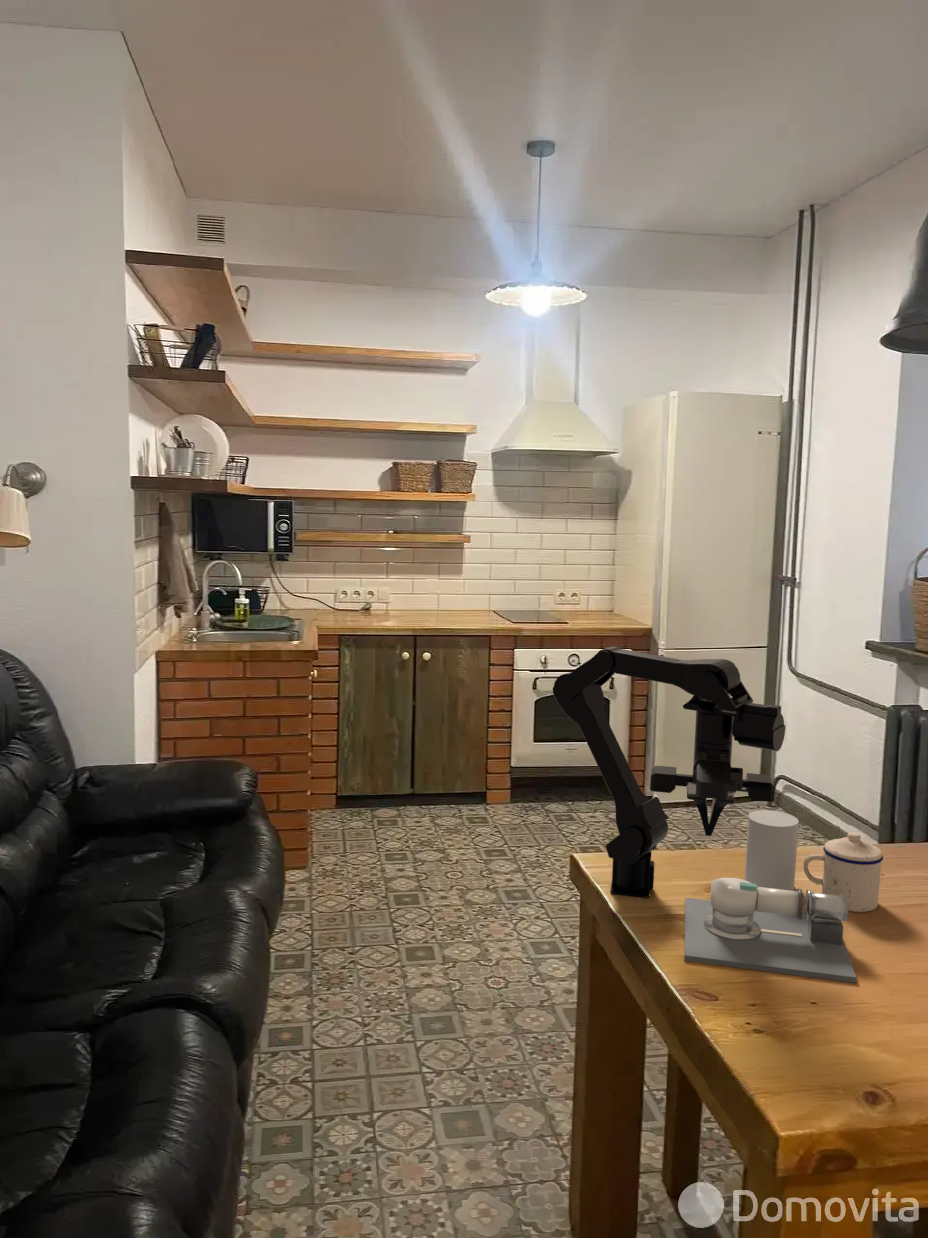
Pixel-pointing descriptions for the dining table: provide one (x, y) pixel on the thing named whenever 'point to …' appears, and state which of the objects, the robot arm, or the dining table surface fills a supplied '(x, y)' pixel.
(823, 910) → the duct run
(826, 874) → the teacup with lid
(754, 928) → the duct stub
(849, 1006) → the dining table surface
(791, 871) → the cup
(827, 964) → the board
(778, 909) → the elbow
